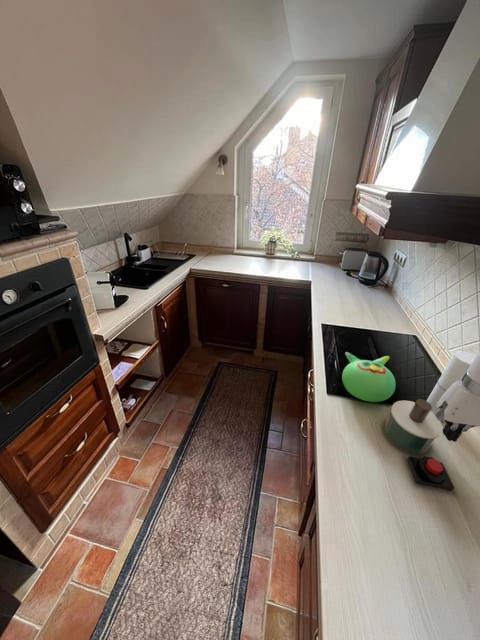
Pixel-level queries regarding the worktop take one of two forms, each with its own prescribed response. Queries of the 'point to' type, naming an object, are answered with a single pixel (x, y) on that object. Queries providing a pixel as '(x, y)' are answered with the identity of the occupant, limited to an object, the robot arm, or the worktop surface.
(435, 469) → the button
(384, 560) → the worktop surface
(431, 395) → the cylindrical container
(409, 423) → the lid
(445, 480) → the block
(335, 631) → the worktop surface
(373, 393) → the toy bird
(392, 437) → the jar
